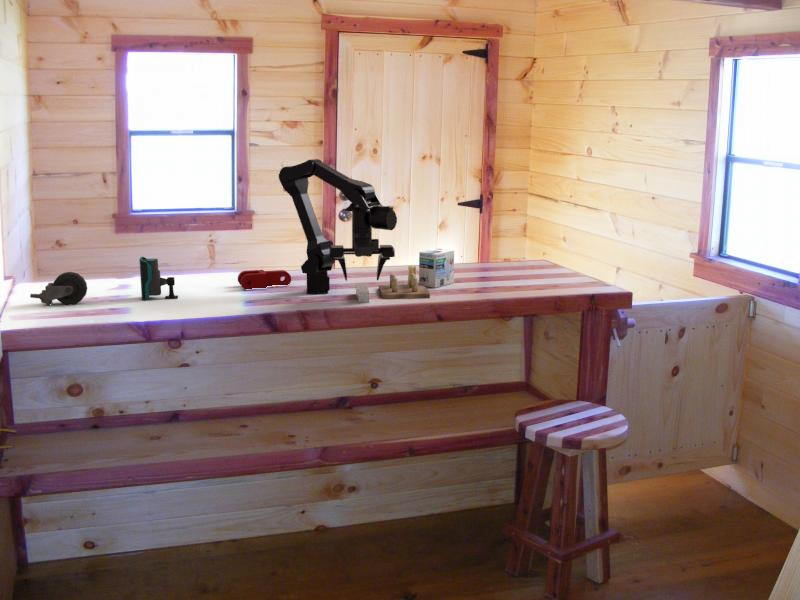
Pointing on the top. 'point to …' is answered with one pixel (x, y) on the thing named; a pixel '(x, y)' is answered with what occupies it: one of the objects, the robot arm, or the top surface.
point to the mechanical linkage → (263, 278)
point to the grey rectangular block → (362, 293)
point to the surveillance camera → (153, 279)
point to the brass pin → (411, 271)
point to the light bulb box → (436, 267)
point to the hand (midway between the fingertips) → (361, 280)
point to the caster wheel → (64, 289)
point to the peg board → (403, 289)
